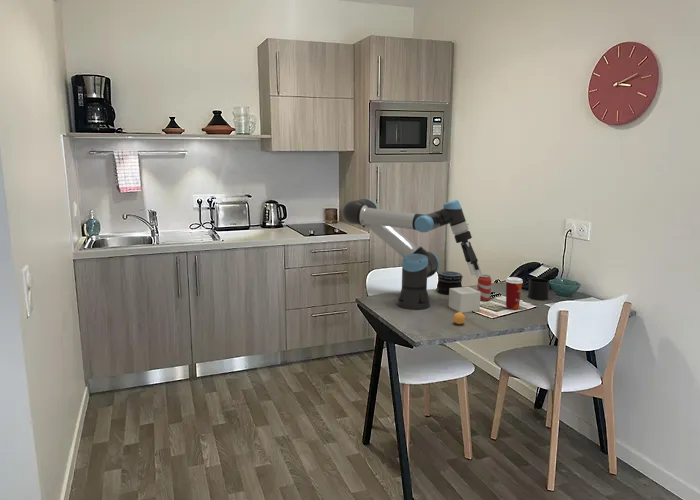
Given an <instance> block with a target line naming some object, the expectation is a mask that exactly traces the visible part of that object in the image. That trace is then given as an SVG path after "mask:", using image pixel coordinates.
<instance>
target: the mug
mask: <svg viewBox="0 0 700 500" xmlns="http://www.w3.org/2000/svg"><path fill="white" fill-rule="evenodd" d="M549 289H550V280H549V279H546V278H540V277H539V278H538V277H532V278H529V280H528V293H527V297H528V298H529V299H530V300H534V301H546V300H547V301H548V300H549Z"/></svg>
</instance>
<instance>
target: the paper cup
mask: <svg viewBox="0 0 700 500" xmlns="http://www.w3.org/2000/svg"><path fill="white" fill-rule="evenodd" d="M523 283H524V282H523V279H522V278H520V277H517V276H515V277H514V276H509V277H507V278H506V279H505V286H506V287H505V307H506V309H508V310H516V311H517V310H519V309H520V308H519V307H520V301H521V294H522V287H523Z"/></svg>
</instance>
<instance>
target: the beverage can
mask: <svg viewBox="0 0 700 500" xmlns="http://www.w3.org/2000/svg"><path fill="white" fill-rule="evenodd" d="M476 290H477V291H479V292H481V297H480V301H481V300H482V302H487V300H488V301H489V300H491V291H492V278H491V275H488V274H482V276H480V277H477V289H476Z"/></svg>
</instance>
